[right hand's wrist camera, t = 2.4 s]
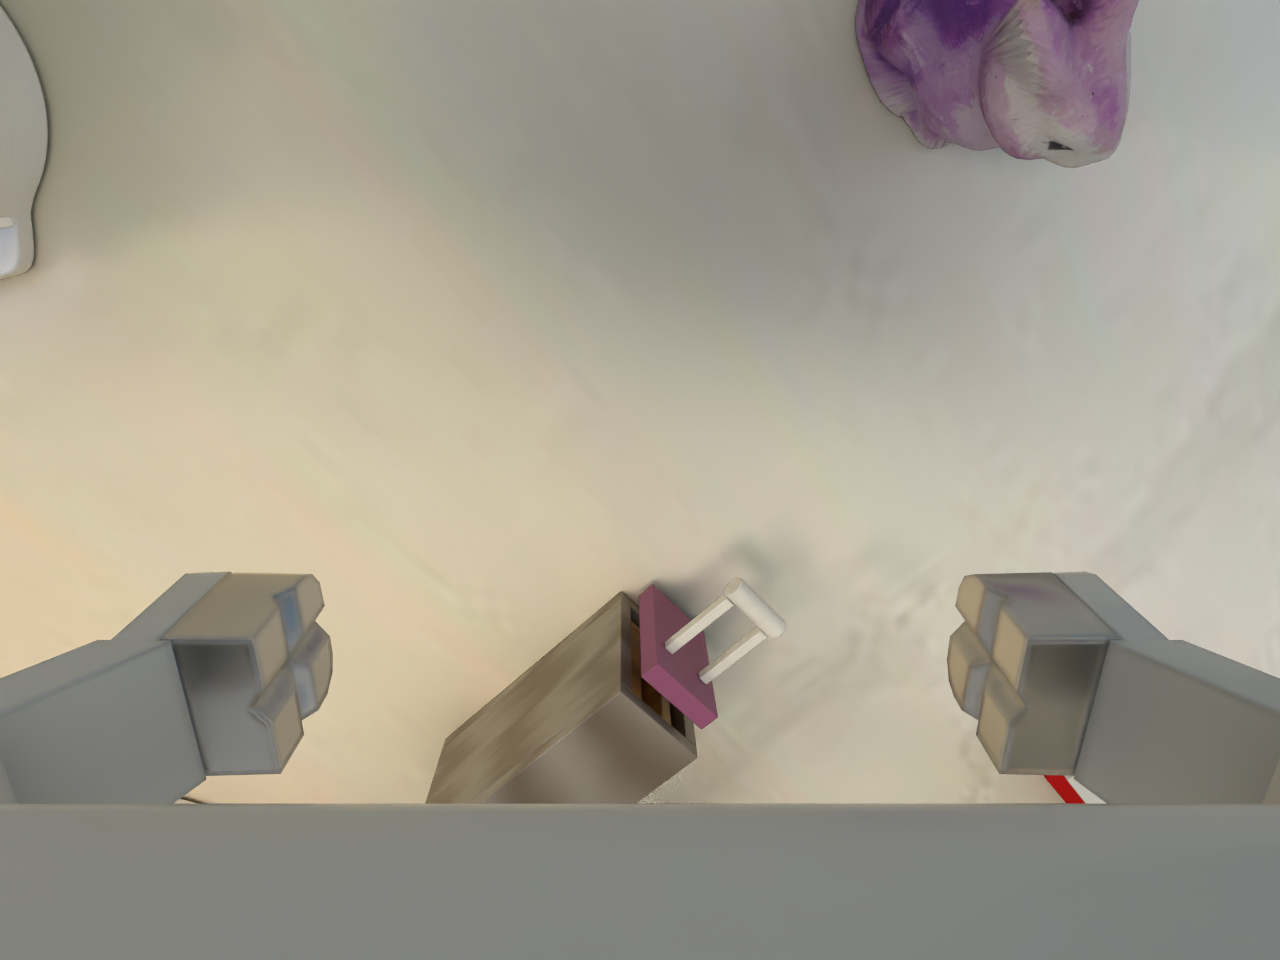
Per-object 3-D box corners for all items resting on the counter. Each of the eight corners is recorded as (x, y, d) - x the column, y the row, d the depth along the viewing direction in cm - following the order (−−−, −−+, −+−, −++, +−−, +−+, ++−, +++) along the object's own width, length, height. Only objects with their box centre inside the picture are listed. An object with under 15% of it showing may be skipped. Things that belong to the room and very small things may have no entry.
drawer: (722, 525, 47) (741, 596, 39) (773, 576, 48) (801, 654, 41) (481, 725, 52) (457, 823, 44) (534, 766, 54) (518, 867, 46)
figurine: (983, 185, 41) (1169, 198, 27) (809, 96, 39) (912, 61, 25) (1093, -8, 37) (1368, -108, 24) (909, -114, 36) (1089, -289, 22)
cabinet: (621, 590, 50) (620, 691, 40) (684, 648, 51) (698, 757, 42) (445, 738, 54) (406, 861, 44) (509, 787, 55) (485, 916, 46)
